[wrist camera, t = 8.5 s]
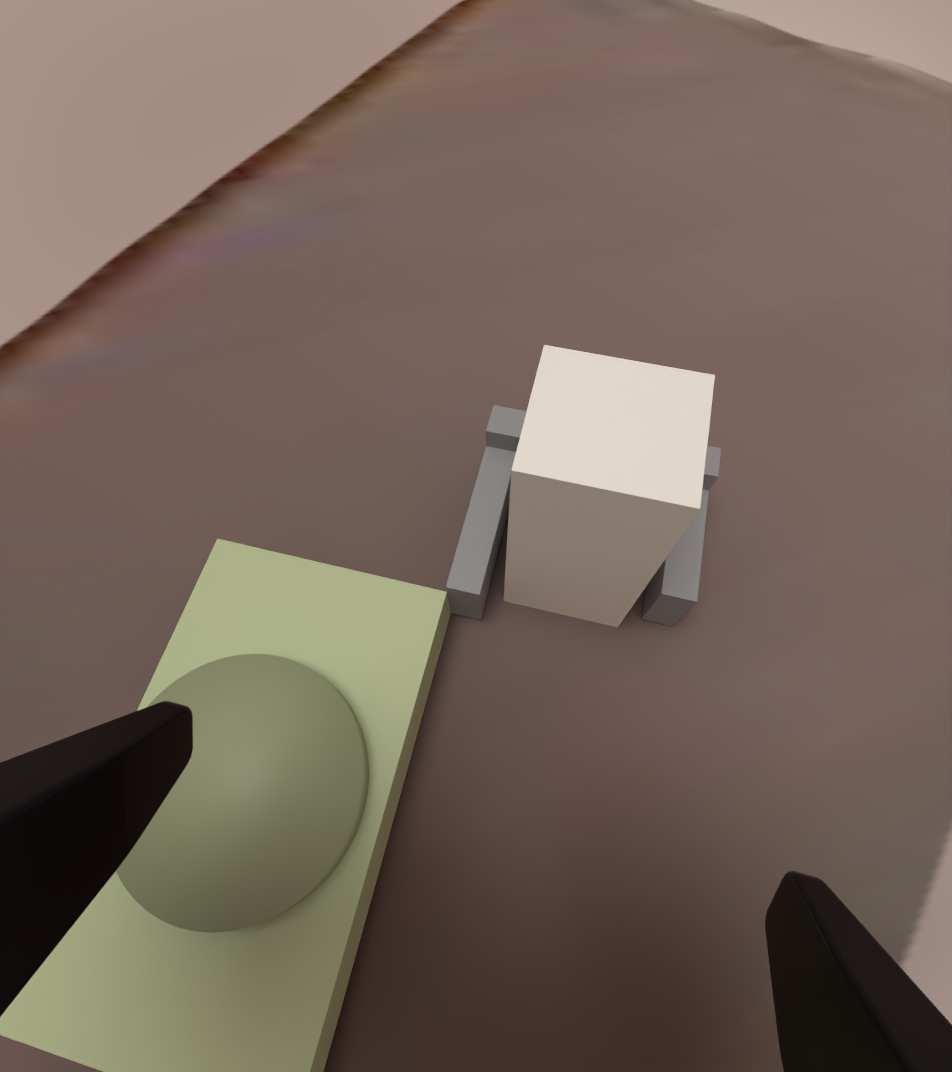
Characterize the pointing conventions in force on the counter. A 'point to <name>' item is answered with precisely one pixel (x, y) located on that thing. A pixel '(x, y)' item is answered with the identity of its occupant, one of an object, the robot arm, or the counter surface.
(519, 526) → the white block
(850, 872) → the counter surface
